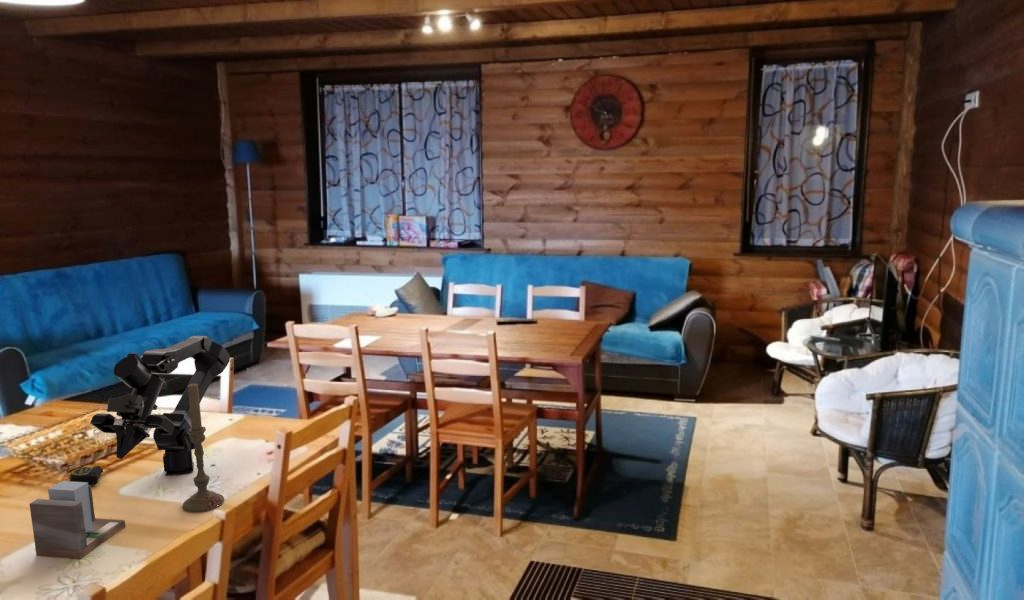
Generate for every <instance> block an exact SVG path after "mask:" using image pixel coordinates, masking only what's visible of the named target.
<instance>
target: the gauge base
mask: <svg viewBox="0 0 1024 600" xmlns="http://www.w3.org/2000/svg"><path fill="white" fill-rule="evenodd" d="M29 511H30V518H31V525H32V532H33V540H34V549H35V554H36V557H45V556H47V558H49V557H50V558H51V557H52V558H59V559H60V558H62V559H72V560H73V559H76V560H81V559H83V558H84V557H85V556H87V555H88V554H90V552H92V551H94V550H95V549H96V548H98V547H100V546H101V545H102V544H104V543H105V542H106V541H107V540H109V539H110V538H112V537H113V536H114V535H115V534H117V533H119V532H120V531H121V530H122V529H123V528H126V520H125V519H113V518H96V517H95V521H93V530H94V531H92V532H99V534H97V535H94V534H88V535H86V532H85V524H84V516H83V508H82V502H81V501H64V500H49V499H47V498H46V499H45V498H37V499H35V500H34V501H32V502H30V503H29Z"/></svg>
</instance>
